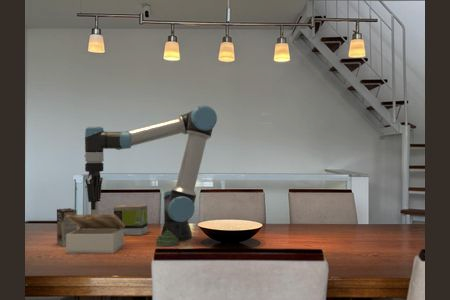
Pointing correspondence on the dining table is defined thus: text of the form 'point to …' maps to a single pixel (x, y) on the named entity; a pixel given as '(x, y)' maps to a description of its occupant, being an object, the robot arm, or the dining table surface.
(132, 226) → the tea box
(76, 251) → the chest
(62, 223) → the coffee box
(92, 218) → the lid
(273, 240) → the dining table surface
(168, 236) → the decorative artifact
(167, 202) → the robot arm
